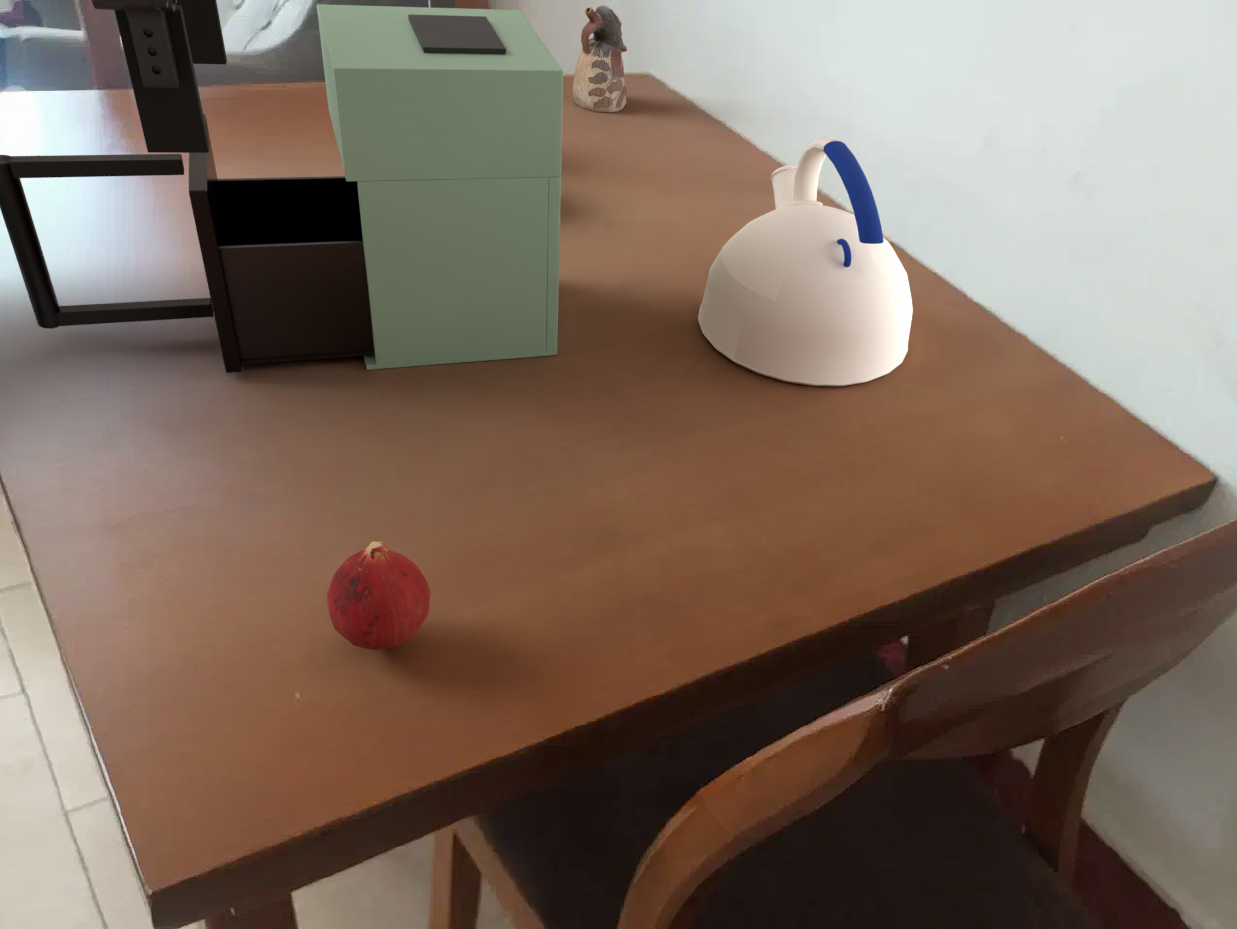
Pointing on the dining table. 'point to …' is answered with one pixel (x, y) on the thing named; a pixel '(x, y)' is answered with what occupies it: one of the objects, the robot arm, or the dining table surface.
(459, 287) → the sage green appliance box
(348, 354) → the dark brown drawer
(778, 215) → the kettle
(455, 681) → the dining table surface
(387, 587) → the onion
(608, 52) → the figurine
